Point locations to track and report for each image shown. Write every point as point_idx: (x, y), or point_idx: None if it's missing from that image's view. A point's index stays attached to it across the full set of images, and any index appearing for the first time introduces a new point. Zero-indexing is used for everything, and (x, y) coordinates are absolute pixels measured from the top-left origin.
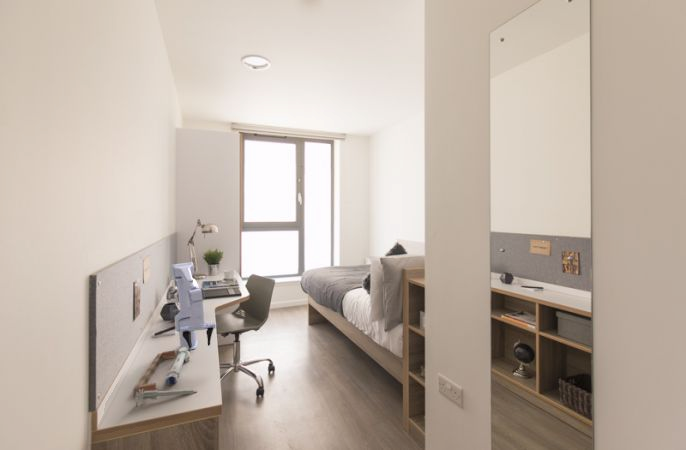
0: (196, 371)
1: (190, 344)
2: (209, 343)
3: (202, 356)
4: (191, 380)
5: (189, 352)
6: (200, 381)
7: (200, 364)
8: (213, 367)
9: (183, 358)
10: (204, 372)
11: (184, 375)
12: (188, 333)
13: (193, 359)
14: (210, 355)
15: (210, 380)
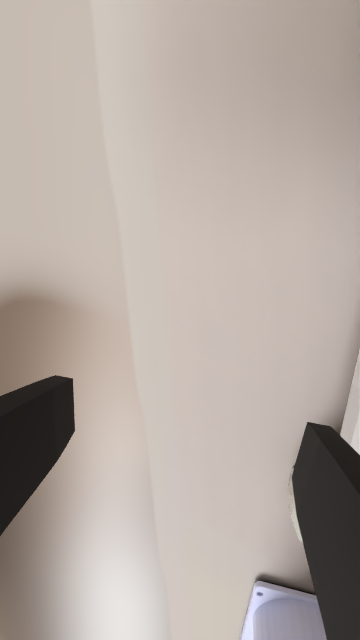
0: (242, 272)
1: (327, 475)
2: (27, 385)
3: (210, 469)
4: (278, 120)
5: (295, 525)
6: (205, 65)
7: (218, 368)
8: (129, 279)
9: (351, 433)
10: (184, 226)
11: (331, 245)
12: None
13: (265, 460)
14: (163, 457)
15: (128, 50)
